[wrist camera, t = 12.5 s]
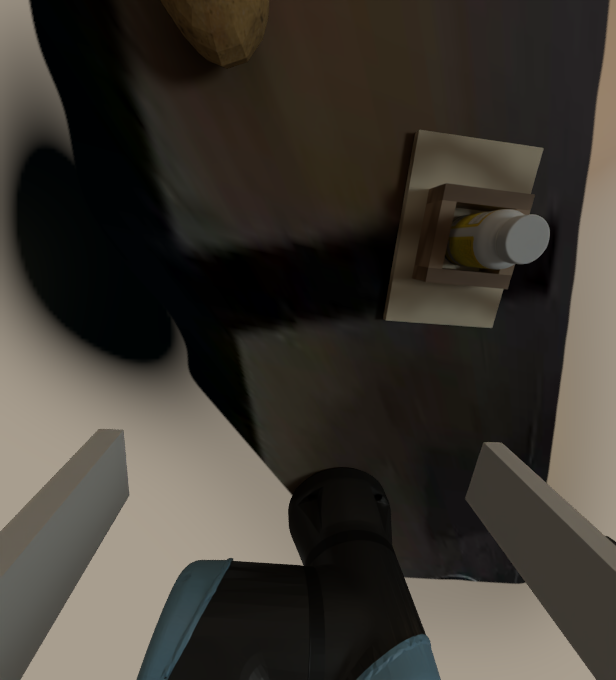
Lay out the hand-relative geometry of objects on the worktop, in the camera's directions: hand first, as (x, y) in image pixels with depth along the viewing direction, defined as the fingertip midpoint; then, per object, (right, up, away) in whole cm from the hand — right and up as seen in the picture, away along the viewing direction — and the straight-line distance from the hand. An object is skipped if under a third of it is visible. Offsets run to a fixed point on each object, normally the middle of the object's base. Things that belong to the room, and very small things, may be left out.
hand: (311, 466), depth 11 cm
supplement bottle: (+17, +16, +24) cm, 33 cm away
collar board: (+17, +16, +24) cm, 34 cm away
